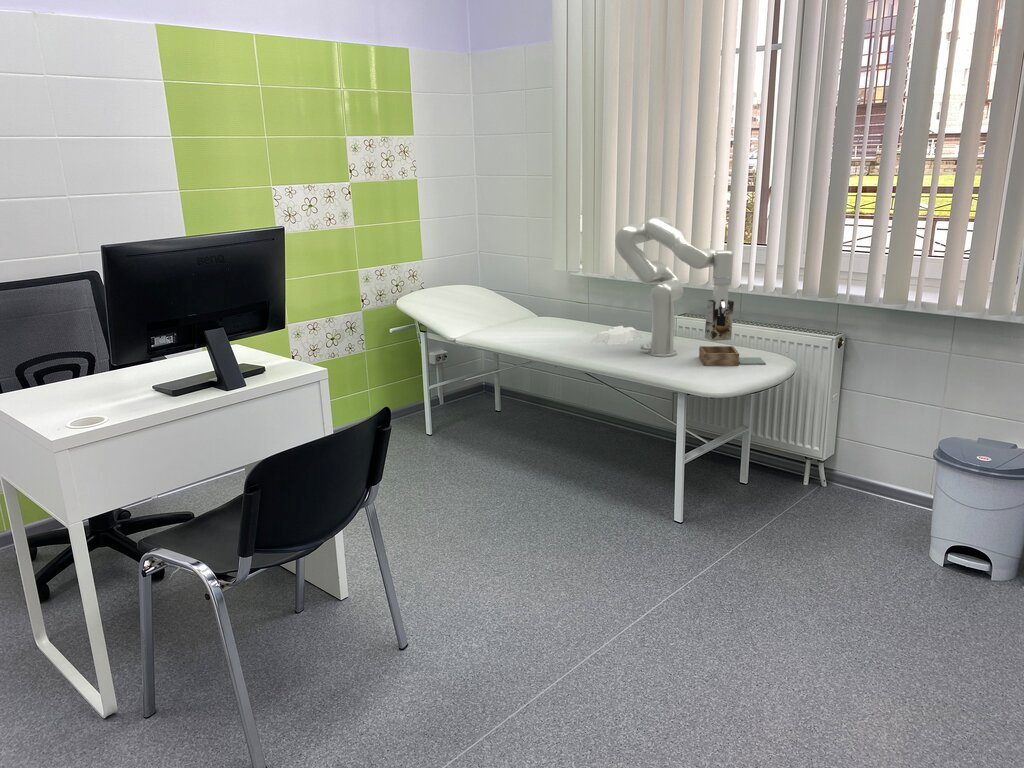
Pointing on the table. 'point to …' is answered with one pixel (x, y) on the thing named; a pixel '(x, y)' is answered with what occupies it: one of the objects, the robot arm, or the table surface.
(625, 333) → the paper sheets
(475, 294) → the table surface
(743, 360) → the mat
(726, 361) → the holder
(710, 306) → the coffee box
